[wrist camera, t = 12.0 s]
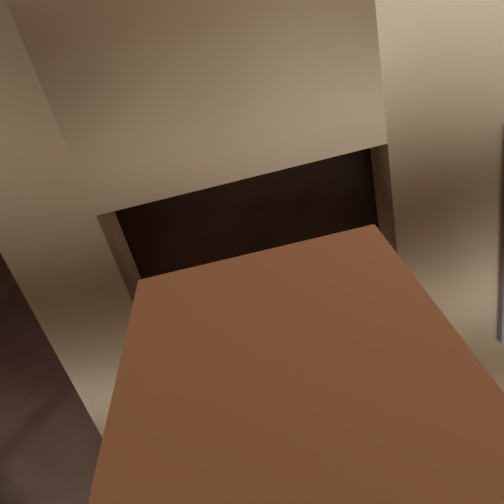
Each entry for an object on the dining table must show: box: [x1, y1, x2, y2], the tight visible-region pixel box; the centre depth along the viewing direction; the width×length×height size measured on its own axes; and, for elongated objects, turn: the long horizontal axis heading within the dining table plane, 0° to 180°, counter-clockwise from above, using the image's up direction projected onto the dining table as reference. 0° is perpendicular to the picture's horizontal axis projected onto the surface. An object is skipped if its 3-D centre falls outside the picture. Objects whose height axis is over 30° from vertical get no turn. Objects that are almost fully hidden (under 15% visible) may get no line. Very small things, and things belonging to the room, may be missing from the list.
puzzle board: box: [0, 0, 504, 438], centre depth 11 cm, size 18×19×6 cm
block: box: [88, 224, 504, 504], centre depth 8 cm, size 5×5×6 cm
